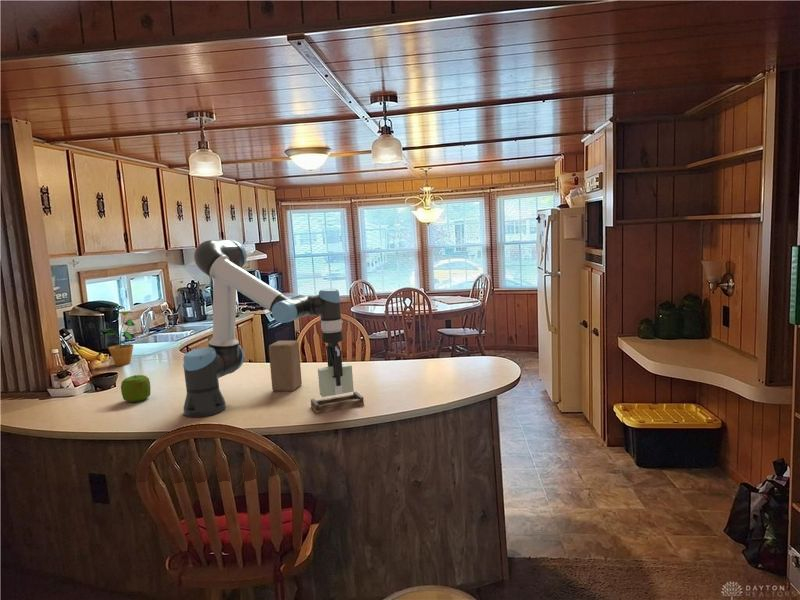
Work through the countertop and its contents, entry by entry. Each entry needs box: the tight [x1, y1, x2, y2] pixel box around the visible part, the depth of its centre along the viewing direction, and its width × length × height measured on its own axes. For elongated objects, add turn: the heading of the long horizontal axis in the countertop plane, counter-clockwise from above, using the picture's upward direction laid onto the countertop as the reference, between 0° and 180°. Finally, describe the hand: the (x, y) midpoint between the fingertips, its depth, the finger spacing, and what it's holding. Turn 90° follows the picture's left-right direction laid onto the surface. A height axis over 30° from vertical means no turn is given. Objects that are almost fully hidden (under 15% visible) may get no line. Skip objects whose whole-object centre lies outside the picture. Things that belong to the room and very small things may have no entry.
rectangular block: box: [317, 363, 355, 398], centre depth 198 cm, size 12×4×10 cm, turn 113°
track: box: [310, 391, 365, 415], centre depth 199 cm, size 18×9×3 cm, turn 113°
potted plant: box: [98, 311, 136, 367], centre depth 291 cm, size 18×19×30 cm
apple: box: [120, 374, 151, 403], centre depth 221 cm, size 11×11×11 cm
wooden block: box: [268, 339, 303, 392], centre depth 226 cm, size 10×10×20 cm
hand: (336, 392), depth 198 cm, fingers closed on rectangular block, 4 cm apart
